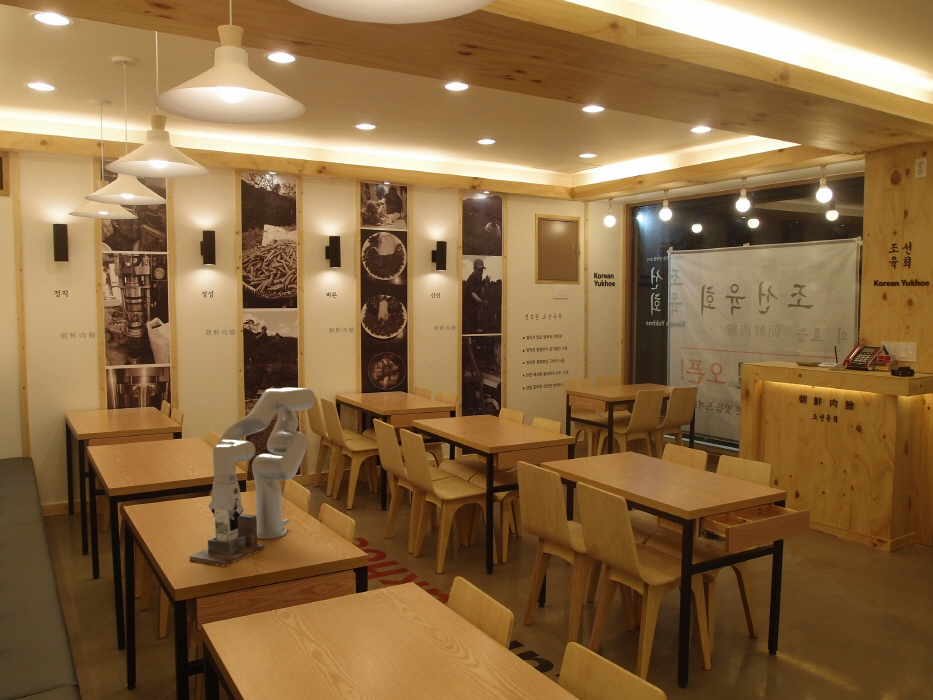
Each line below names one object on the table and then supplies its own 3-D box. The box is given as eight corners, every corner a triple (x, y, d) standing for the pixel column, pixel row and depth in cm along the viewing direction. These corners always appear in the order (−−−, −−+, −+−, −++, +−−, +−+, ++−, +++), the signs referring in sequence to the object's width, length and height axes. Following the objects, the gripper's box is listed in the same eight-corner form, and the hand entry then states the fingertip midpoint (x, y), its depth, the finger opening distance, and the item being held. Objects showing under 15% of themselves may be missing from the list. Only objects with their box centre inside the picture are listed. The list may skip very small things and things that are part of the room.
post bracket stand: (230, 543, 275) (229, 511, 274) (264, 548, 268) (262, 516, 267) (189, 560, 256) (188, 526, 256) (224, 566, 250) (223, 532, 249)
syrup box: (239, 544, 264) (237, 504, 263) (228, 549, 258) (227, 509, 257) (225, 542, 266) (224, 503, 265) (215, 548, 260) (213, 507, 259)
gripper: (251, 478, 260) (252, 528, 261) (214, 474, 268) (216, 522, 269) (236, 483, 253) (238, 534, 255) (198, 479, 261) (200, 528, 262)
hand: (226, 528), depth 262 cm, fingers closed on syrup box, 6 cm apart
